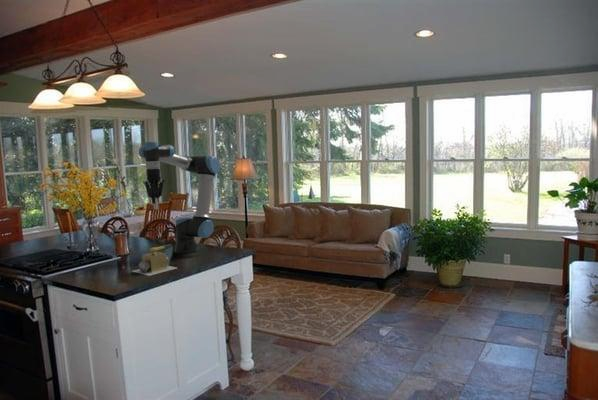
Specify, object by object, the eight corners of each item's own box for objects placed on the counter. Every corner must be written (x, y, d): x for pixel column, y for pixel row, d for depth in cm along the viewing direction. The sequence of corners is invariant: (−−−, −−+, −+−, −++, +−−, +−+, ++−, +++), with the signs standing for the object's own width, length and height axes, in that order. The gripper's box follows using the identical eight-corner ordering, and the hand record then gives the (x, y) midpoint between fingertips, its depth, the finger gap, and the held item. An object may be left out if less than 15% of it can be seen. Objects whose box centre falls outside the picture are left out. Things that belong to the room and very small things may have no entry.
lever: (168, 246, 282) (168, 244, 282) (173, 247, 280) (173, 244, 279) (147, 251, 271) (147, 248, 271) (152, 251, 269) (152, 249, 269)
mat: (131, 272, 272) (131, 271, 272) (160, 264, 286) (160, 263, 286) (149, 276, 260) (149, 275, 260) (178, 268, 275) (178, 267, 275)
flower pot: (174, 260, 296) (173, 246, 294) (165, 264, 287) (164, 249, 286) (162, 260, 298) (161, 246, 297) (153, 263, 290) (152, 249, 289)
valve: (136, 272, 269) (134, 253, 268) (163, 265, 283) (162, 247, 282) (145, 274, 263) (143, 255, 262) (172, 267, 277) (171, 249, 276)
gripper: (146, 169, 268) (149, 210, 270) (166, 167, 278) (169, 208, 280) (139, 169, 272) (142, 210, 275) (159, 167, 282) (161, 207, 285)
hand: (156, 209), depth 278 cm, fingers closed
